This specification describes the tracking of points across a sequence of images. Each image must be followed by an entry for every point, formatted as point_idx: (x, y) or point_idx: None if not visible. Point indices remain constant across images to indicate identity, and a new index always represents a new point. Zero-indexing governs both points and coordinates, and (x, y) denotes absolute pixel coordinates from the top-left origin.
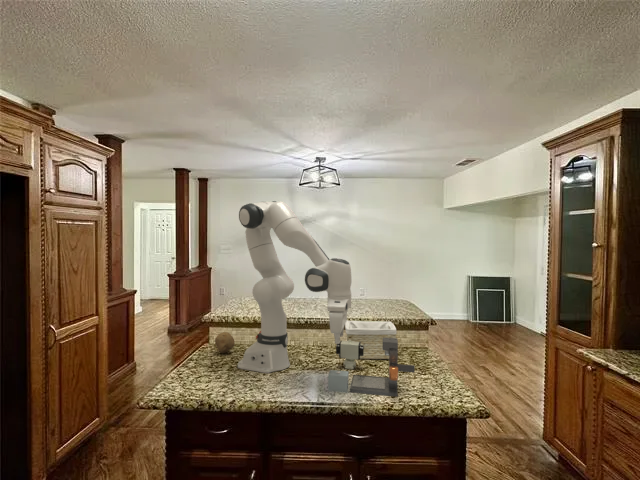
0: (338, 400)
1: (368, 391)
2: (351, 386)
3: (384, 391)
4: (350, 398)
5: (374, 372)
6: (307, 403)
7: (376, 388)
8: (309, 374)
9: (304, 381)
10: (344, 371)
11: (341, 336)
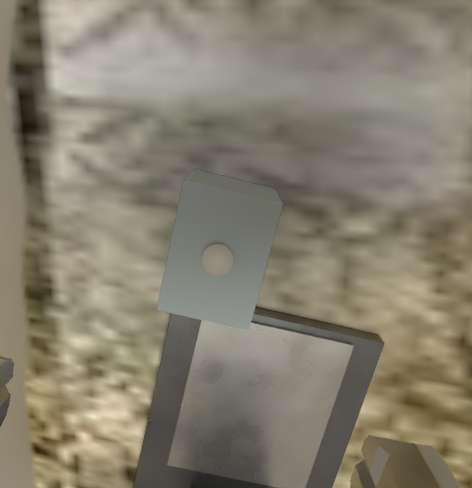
0: (74, 218)
1: (156, 384)
2: None
3: (147, 456)
4: (102, 283)
5: None
6: (22, 34)
7: (175, 429)
8: (467, 56)
9: (346, 17)
10: (249, 303)
11: (355, 472)
